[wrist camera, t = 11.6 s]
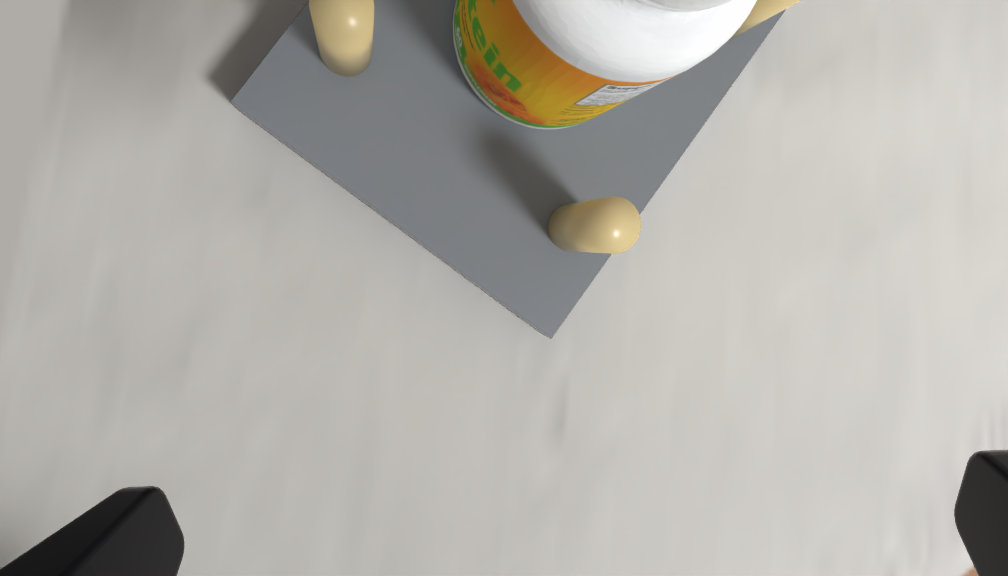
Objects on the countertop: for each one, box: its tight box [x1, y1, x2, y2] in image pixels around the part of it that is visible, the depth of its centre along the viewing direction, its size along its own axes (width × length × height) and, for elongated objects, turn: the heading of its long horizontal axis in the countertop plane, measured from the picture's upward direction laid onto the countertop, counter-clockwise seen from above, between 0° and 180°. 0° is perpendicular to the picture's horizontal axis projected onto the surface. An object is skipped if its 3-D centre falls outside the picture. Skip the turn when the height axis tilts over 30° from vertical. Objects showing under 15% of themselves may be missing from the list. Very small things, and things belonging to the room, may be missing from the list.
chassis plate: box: [231, 0, 801, 338], centre depth 18 cm, size 14×11×5 cm
